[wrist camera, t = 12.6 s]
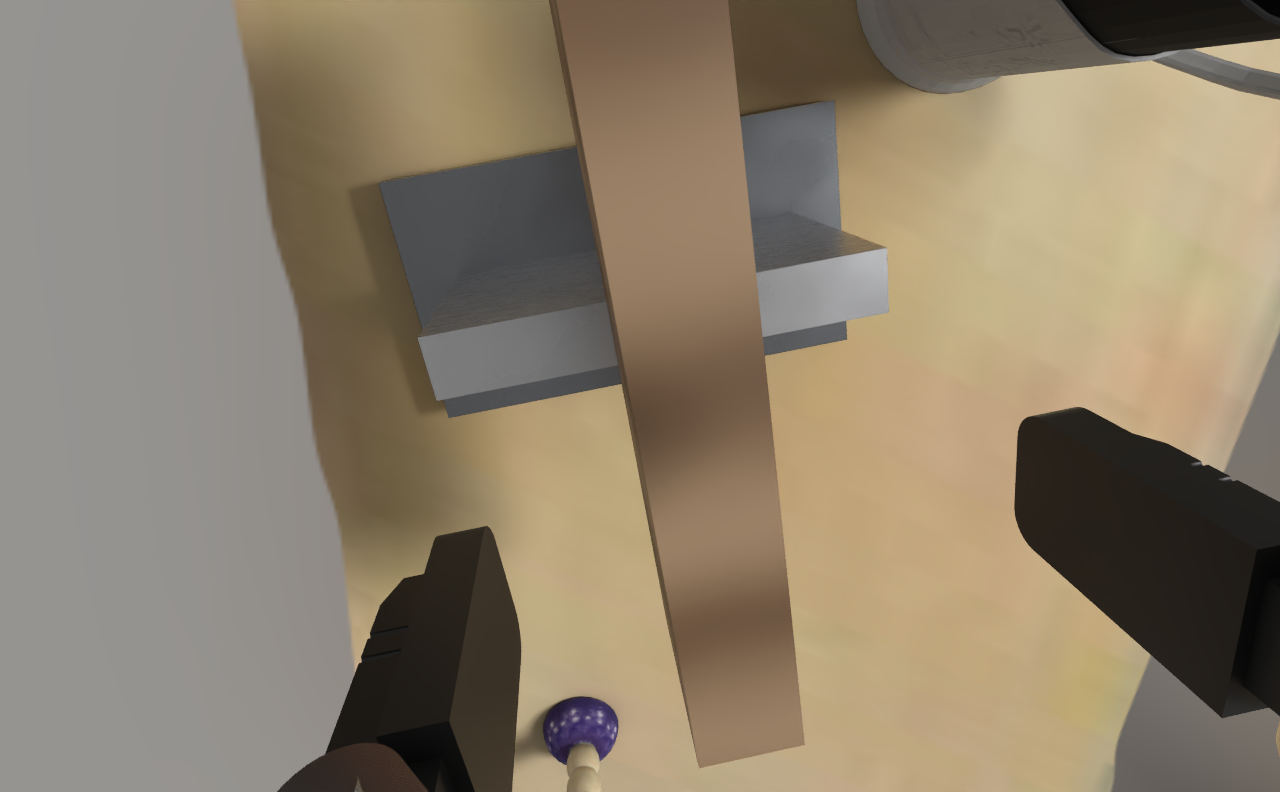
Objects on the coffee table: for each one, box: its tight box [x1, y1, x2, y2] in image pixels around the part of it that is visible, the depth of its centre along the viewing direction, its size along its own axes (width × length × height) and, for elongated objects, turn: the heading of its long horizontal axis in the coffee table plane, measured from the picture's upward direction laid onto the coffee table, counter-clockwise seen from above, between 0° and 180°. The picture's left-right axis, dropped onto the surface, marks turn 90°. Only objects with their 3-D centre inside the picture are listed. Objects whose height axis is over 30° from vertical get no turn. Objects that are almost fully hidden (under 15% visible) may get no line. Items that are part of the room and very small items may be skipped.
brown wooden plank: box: [549, 0, 805, 768], centre depth 18 cm, size 22×3×6 cm, turn 9°
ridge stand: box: [379, 100, 889, 418], centre depth 25 cm, size 10×18×10 cm, turn 100°
